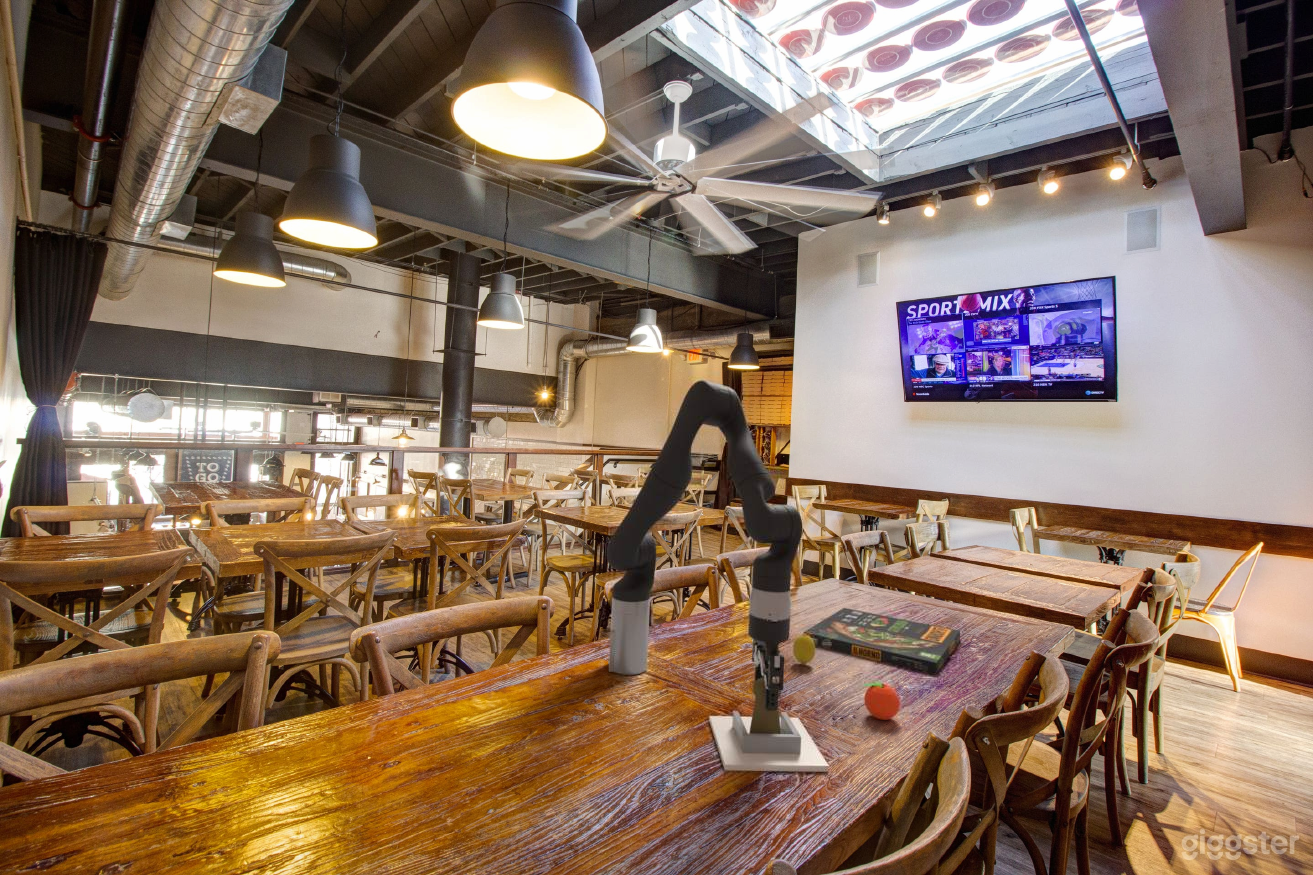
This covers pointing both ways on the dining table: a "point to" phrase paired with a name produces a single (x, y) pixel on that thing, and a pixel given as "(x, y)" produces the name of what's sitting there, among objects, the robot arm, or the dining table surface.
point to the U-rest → (765, 746)
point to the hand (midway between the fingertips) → (765, 699)
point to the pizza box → (886, 639)
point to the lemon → (804, 649)
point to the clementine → (881, 701)
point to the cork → (763, 712)
